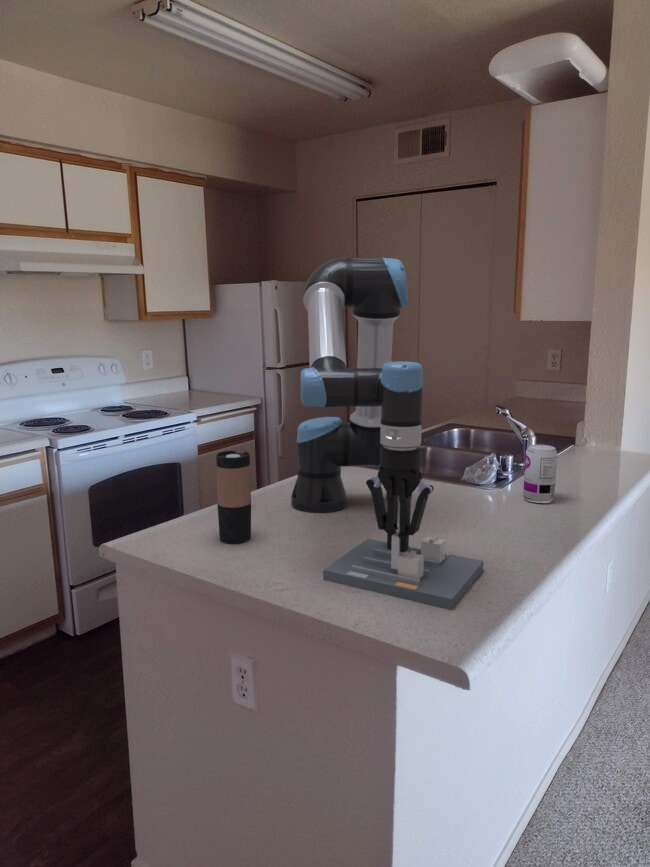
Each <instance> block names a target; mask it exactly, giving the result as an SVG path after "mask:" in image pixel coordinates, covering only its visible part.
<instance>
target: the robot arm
mask: <svg viewBox="0 0 650 867" xmlns="http://www.w3.org/2000/svg"><path fill="white" fill-rule="evenodd" d="M408 290H409V289H408V281H407V275H406V270H405V266H404V264H403V262H402V261H401V260H400V259H399V258H391V257H390V258H389V257H349V258H348V257H338V258H337V257H336V258H333V259H331V260H328V261H326V262H325V263H323V264H321V265H320V266H319V267H317V269H315V270H314V271H313V272H312V273H311V274H310V276H309V278H308V279H307V281H306V283H305V285H304V289H303V293H302V294H303V296H302V299H303V300H302V301H303V306H304V308H305V310H306V311H307V321H308V350H309V352H308V354H309V356H308V357H309V360H308V361H309V368H308V367H307V368H303V369H301V371H300V401H301V404H302V405H303V406H306V407H317V408H333V407H334V408H337V407H338V408H339V407H342V408H343V407H355V411H353V413H351V414H350V415H349V422H343V421H342V419H341V418H340V417H339V416H323V417H317V418H310V419H307V420H304V421H303V422H301V423H299V425H298V427H297V436H296V437H297V438H296V444H297V468H296V469H297V478H296V480H295V483H294V487H293V489H292V493H291V498H290V501H291V502H290V505H291V507H292V508H294V509H296V510H299V511H301V512H302V511H303V512H309V513H330V512H336V511H340V510H343V509H345V507H347V506H348V494H347V492H346V491H347V490H346V489H345V486H344V482H343V479H342V471H341V470H342V467H347V468H348V467H353V468H354V467H364V468H365V467H369V468H370V467H375V468H379V470H378V472H377V475H376V476H373V477H371V478H368V480H366V482H365V484H366V486H367V488H368V489H369V491H370V495H371V500H372V503H373V510H374V515H375V518H376V519H375V520H376V522H377V523H376V524H377V529H379V530H380V531H381V530H382V531H384V532H386V534H387V538H386V539H387V541H386V542H387V548H388V550H391V568H392V569H397V570H398V557H399V556H400V555H401V554H402V553H405V552H406V551H407V550H408V548H409V546H410V544H409V542H410V536H414V535H415V534H416V533H417V532H419V530H420V527H421V524H422V520H423V516H424V514H425V511H426V510H425V509H426V506H427V503H428V499H429V496H431V494H432V493H433V492H434V490H435V489H434V488H435V487H434V485H431V484H430V485H428V484H427V483H426V482H425V481H424V480H423V475H422V474H421V462H422V461H421V458H422V456H421V455H422V450H421V448H420V447H419V446H421V445H422V421H423V420H422V419H423V418H422V417H423V413H422V412H423V395H424V394H423V392H424V384H425V379H424V368H423V366H422V365H421V363H419V362H414V361H406V360H405V361H403V360H401V361H392V354H393V352H392V351H393V336H394V322H395V321H396V320H397V319H398V318H399V317H400V316H401V309H404V308H407V307H408V302H409V301H408V299H409V294H408ZM343 308H345V309H346V308H348V309H349V308H350V309H351V308H352V316H353V317H354V318H355V319H356V320H357V322H358V329H357V331H358V332H357V333H358V334H357V359H356V360H357V362H356V364H357V366H356V368H355V367H354V368H353V367H352V368H350V367H347V366H348V365H347V359H346V356H347V355H346V346H345V335H344V323H343V322H344V321H343V314H342V310H343ZM382 487H383V488H384V490H385V492H386V495H385V496H386V497H384V493H383V489H382ZM417 488H418V490H417ZM416 490H417V493H418V494H419V495H418V497H417V499H416V501H415V502H416V503H415V506H414V509H413V513H412V516H411V509H412V508H411V507H412V506H411V505H412V503H411V502H412V498H413V492H414V491H416ZM385 499H386V501H387V502H385ZM398 518H399V519H398ZM398 520H399V521H398ZM398 522H399V525H398Z"/></svg>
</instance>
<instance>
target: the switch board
mask: <svg viewBox="0 0 650 867" xmlns="http://www.w3.org/2000/svg"><path fill="white" fill-rule="evenodd" d="M412 550H413V551H416V554H418V555H421V547H417V546H412V545H409V548H408V550H407V551H406V552H408V553H410V552H411V551H412ZM483 571H484V560H481V559H476V558H472V557H467V556H461V555H456V554H452V553H451V554H450V553H448V552H445V559H444V560H443V561H442V562H441V563H440V564H439V561H434V560H429V559H424V571H423V576H422V577H421V578H420V579H415V578H410V577H406V576H401V575H398V570H397V569H392V568H391V550H388V548H387V541H383V540H377V539H372V538H366V539H365V540H364V541H362V542H361V543H360V544H357V546H355V547H353V549H351V550H349V551H348V552H347V553H345V554H344V555H342V556H341V557H339V558H338V559H337V560H335V561H334V562H333V563H331V564H330V565H328V566H327V567H326V568H324V569H323V572H322V574H323V580H324V581H328V582H332V583H337V584H340V585H344V586H349V587H354V588H358V589H361V590H366V591H370V592H374V593H378V594H379V593H380V594H384V595H387V596H392V597H395V598H400V599H405V600H408V601H414V602H418V603H421V604H426V605H430V606H433V605H434V607H438V608H443V609H446V608H447V610H450V609H451V610H453V608H454V607H455V606H456V605H457V604H458V602H459V601H460V600H461V598H462V597H463V596H464V595H465V593H467V591H468V589H469V588H470V587H471V586H472V585H473V583H474V582H475V580H477V578H478V577H479V576H480V575H481V573H482V572H483Z"/></svg>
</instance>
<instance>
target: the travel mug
mask: <svg viewBox="0 0 650 867" xmlns="http://www.w3.org/2000/svg"><path fill="white" fill-rule="evenodd" d="M215 458H216V459H215V460H216V497H217V498H216V500H217V502H216V503H217V504H216V505H217V518H218V530H219V531H218V534H219V541H220V542H221V543H224V544H230V545H237V544H238V545H239V544H244V543H247V542H249V541H250V540H251V536H252V535H251V534H252V490H251V489H252V488H251V487H252V486H251V484H252V483H251V480H252V479H251V460H250V459H251V454H250V453H249V452H248V451H244V452H241V453H240V452H237V451H236V450H224V451H220V452H218V453H216V457H215Z"/></svg>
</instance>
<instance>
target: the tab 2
mask: <svg viewBox="0 0 650 867" xmlns="http://www.w3.org/2000/svg"><path fill="white" fill-rule="evenodd" d="M420 542H421V544H420V546H421V547H420V548H421V555H423V556H424V559H429V560H434V561H439V564H440V563H441V562H442V561H443V560H444V559H445V553H446V539H441V538H439V535H435V534H434V535H432V536H431V537H430V536H426V537H424V539H422V540H421V541H420Z"/></svg>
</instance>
